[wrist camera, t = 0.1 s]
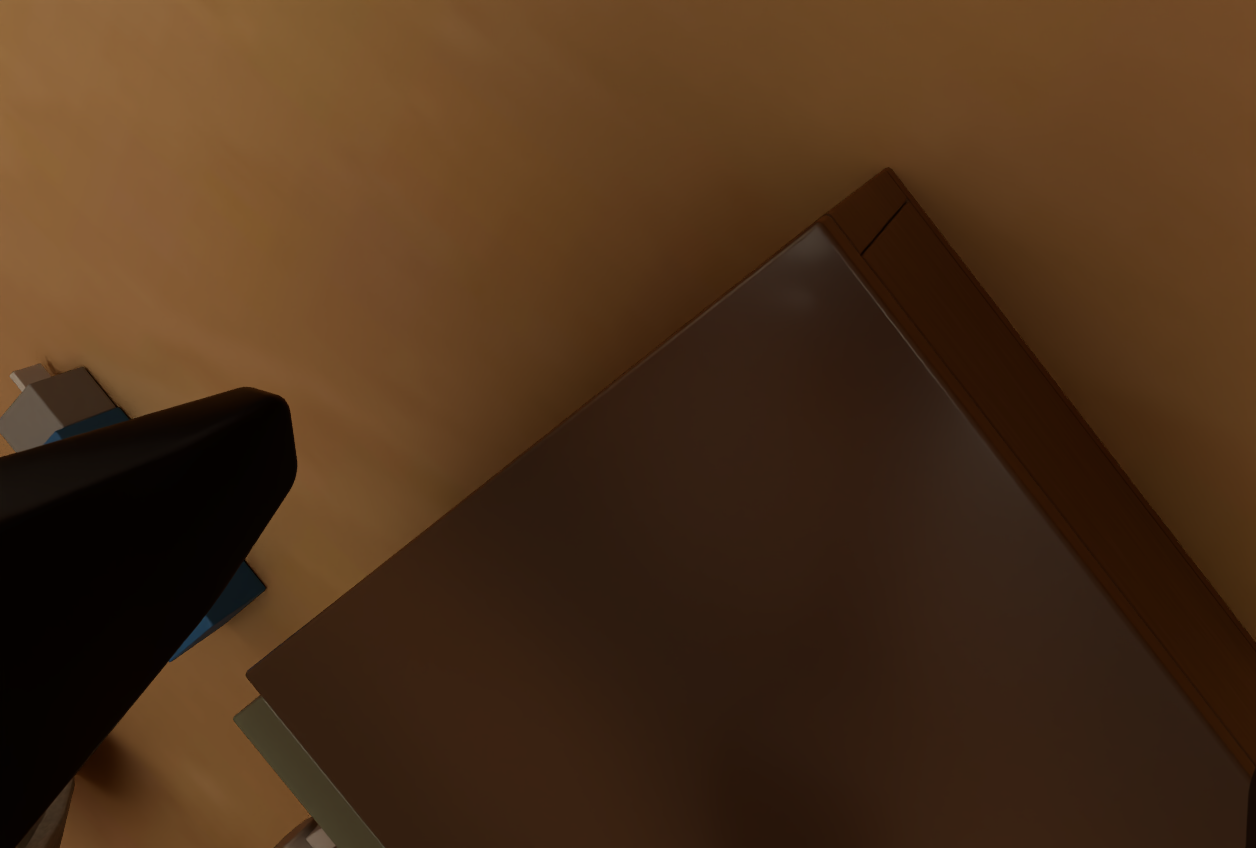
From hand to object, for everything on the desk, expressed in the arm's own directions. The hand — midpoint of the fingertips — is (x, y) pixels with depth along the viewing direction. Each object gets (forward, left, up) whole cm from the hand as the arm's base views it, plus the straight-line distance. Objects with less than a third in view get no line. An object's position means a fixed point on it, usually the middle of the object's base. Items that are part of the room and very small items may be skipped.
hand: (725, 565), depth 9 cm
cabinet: (-6, -5, -15) cm, 17 cm away
